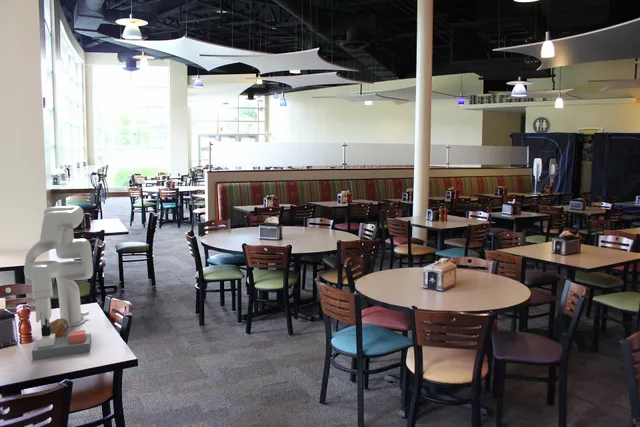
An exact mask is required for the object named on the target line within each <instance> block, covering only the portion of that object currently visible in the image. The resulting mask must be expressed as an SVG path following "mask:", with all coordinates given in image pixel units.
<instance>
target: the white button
mask: <svg viewBox="0 0 640 427" xmlns="http://www.w3.org/2000/svg"><path fill="white" fill-rule="evenodd" d="M37 340H38V347H46V346H53V345H55V343H56V338H55V334H50V336H45V337H42V334H41V335H39V336H38V338H37Z"/></svg>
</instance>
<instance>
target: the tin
mask: <svg viewBox="0 0 640 427" xmlns="http://www.w3.org/2000/svg"><path fill="white" fill-rule="evenodd" d="M49 326H50V332H51V334H55V338H59V337H65V336H66V334H67V333H68V330H69V327H68V323H67V321H66V320H65V319H63V318H62V319H61V318H57V319H55V320H53V321H49Z"/></svg>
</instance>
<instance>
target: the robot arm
mask: <svg viewBox="0 0 640 427" xmlns="http://www.w3.org/2000/svg"><path fill="white" fill-rule="evenodd" d="M43 215H44V216H43V219H42V225H41V232H40V235H39V236H40V237H39V240H38V241H37V242H36V243H35V244H34V245H32V246H31V247H30V249H28V251H27V253H26V256H25V259H24V265H23V266H24V267H23V273H24V277H25V278H26V279H28V280H31V291H32V299H33V300H35V302H34V304H35V322H36V323H39V322H40V326H41V327H40V328H41V330H40V331H41V335H42V337H45V336H50V334H51V332H50V326H49V323H50V319H51V317H52V304H51V303H52V302H51V298H52V297H54V294H53V282H52V279H54V278H55V279H56V285H57V292H58V294H57V296H58V303H59V304H58V305H59V315H60V318H59V319H62V318H63V319H65V320H66V321H67V323H68V328H70V327H71V328H72V327H76V326H80V325H82V324H85V322H86V319H85V318H84V317H85V316H88V315H90V312H89V310H86V311H84V312H83V311H82V309H81V296H80V288H79V285H78V284H77V282H75V281H79V280H80V281H81V280H88V279H92V276H93V274H94V264H93V256H92V255H93V254H92V245H91V243H90V241H89V240H88V239H86V238H75V237H74V229H75V228H77V227H79V225H80V224H81V223H82V222H83V220H84V209H83V208H82V207H81V206H80V205H79V206H78V205H67V206H65V205H62V206H59V205H58V206H50V207H46V208H45V209H44V212H43ZM53 249H55V254H56V256H57V258H58V259H61V260H66V261H60V262H59V261H57V260H40V261H37V258H39V256H41V255H42V254H45V253H47V252H48V251H51V250H53ZM67 259H69V261H68V260H67ZM71 259H80V260H71Z"/></svg>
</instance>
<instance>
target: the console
mask: <svg viewBox="0 0 640 427" xmlns="http://www.w3.org/2000/svg"><path fill="white" fill-rule="evenodd" d="M85 335H86V340H85V341H83V342H76V343H70V342H69V335H68V336H67V335H66V336H63V337H59V338H56V343H55V345H53V346H46V347H38V339H36V341H35V343H34V345H33V347H32V350H31V357H32V361H38V360H39V361H40V360H47V359H51V358H52V359H55V358H58V357H67V356H74V355H81V354H89V353H91V347H92V342H93V340H92V333H85Z"/></svg>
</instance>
